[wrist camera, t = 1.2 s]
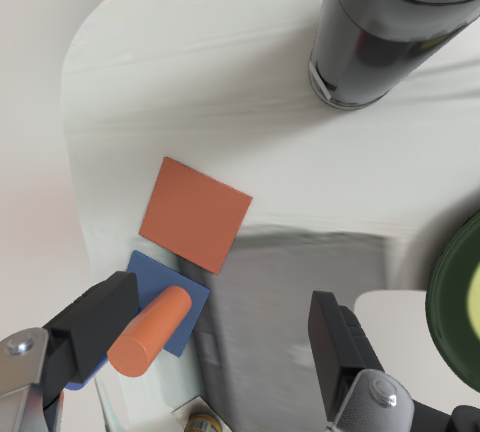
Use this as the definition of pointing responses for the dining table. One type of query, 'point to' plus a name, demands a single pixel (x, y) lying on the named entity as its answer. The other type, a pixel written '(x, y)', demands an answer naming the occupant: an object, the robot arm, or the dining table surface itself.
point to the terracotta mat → (193, 215)
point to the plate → (457, 302)
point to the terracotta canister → (149, 332)
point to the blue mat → (154, 282)
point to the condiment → (199, 418)
